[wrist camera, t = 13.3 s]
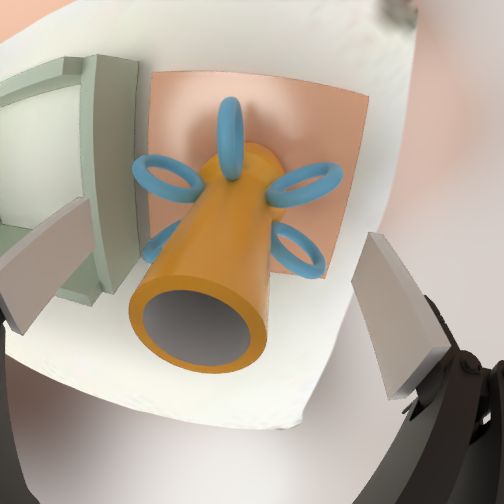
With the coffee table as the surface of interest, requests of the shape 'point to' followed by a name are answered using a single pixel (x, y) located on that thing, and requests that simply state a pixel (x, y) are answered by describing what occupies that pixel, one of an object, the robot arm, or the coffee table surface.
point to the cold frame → (94, 164)
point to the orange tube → (222, 250)
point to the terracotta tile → (259, 140)
